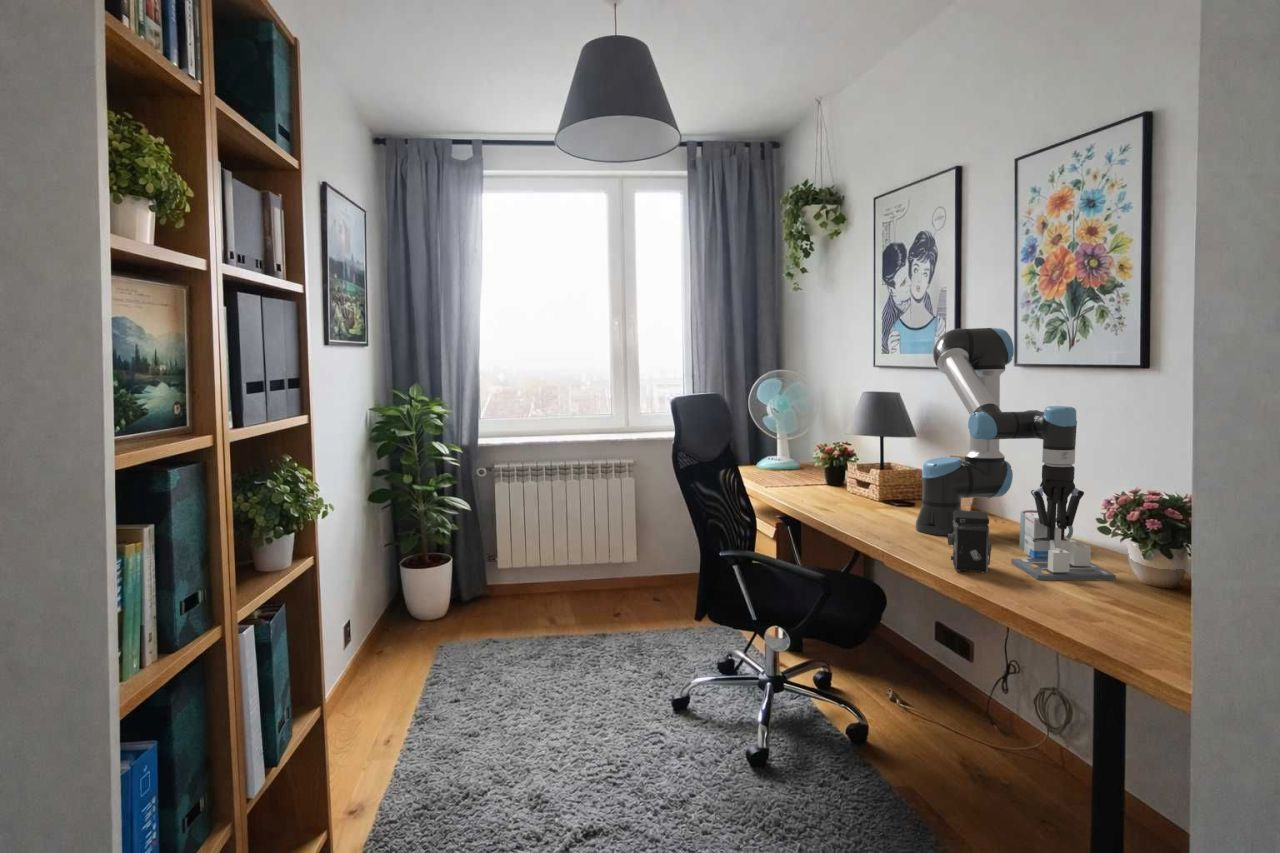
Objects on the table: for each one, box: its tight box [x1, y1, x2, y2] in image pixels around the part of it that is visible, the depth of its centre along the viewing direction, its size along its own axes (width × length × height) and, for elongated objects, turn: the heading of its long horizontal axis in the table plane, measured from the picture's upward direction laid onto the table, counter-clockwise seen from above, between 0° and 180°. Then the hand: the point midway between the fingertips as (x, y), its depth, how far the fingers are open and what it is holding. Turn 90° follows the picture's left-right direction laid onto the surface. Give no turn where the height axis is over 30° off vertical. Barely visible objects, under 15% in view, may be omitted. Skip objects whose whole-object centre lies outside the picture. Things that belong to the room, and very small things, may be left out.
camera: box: [947, 510, 992, 574], centre depth 196 cm, size 10×10×15 cm
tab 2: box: [1061, 536, 1077, 552], centre depth 197 cm, size 3×4×6 cm, turn 87°
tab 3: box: [1069, 541, 1092, 566], centre depth 191 cm, size 3×4×6 cm, turn 86°
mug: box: [1019, 509, 1074, 549], centre depth 215 cm, size 14×9×10 cm
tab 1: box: [1048, 548, 1070, 572], centre depth 187 cm, size 3×4×6 cm, turn 87°
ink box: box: [1023, 513, 1050, 559], centre depth 206 cm, size 9×5×12 cm, turn 168°
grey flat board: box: [1010, 558, 1117, 581], centre depth 192 cm, size 15×19×2 cm
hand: (1055, 551), depth 197 cm, fingers closed
